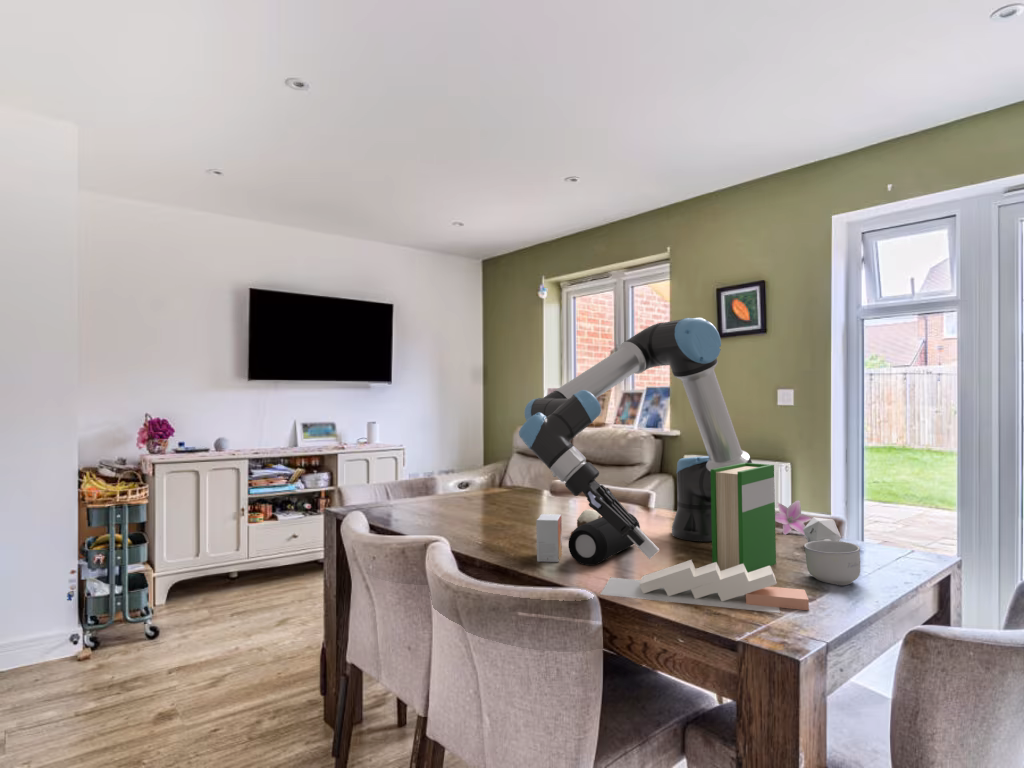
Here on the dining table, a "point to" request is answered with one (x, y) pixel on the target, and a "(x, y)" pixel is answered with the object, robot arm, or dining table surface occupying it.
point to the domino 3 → (723, 581)
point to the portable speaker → (597, 542)
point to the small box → (549, 537)
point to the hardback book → (743, 516)
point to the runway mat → (677, 596)
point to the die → (821, 530)
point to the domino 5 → (779, 598)
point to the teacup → (833, 561)
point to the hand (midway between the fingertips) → (654, 554)
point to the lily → (791, 517)
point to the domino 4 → (750, 583)
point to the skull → (587, 517)
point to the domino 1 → (667, 576)
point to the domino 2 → (696, 579)
